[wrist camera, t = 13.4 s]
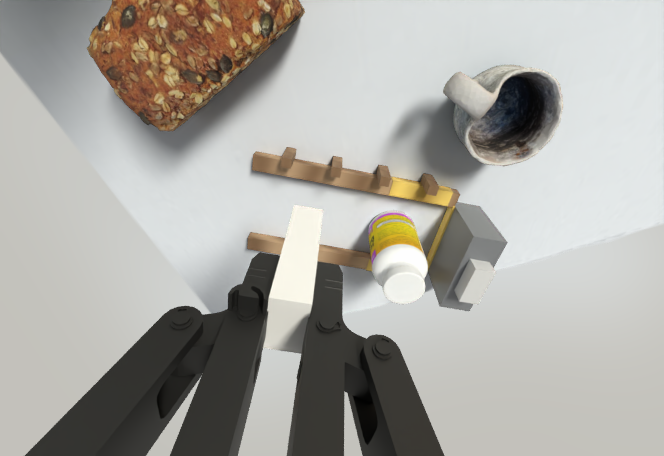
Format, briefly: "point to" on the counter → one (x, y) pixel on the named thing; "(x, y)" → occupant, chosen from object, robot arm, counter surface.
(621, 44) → the counter surface
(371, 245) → the supplement bottle
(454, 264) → the grey carton
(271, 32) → the bread
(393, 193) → the wooden rack
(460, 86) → the mug
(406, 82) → the counter surface
